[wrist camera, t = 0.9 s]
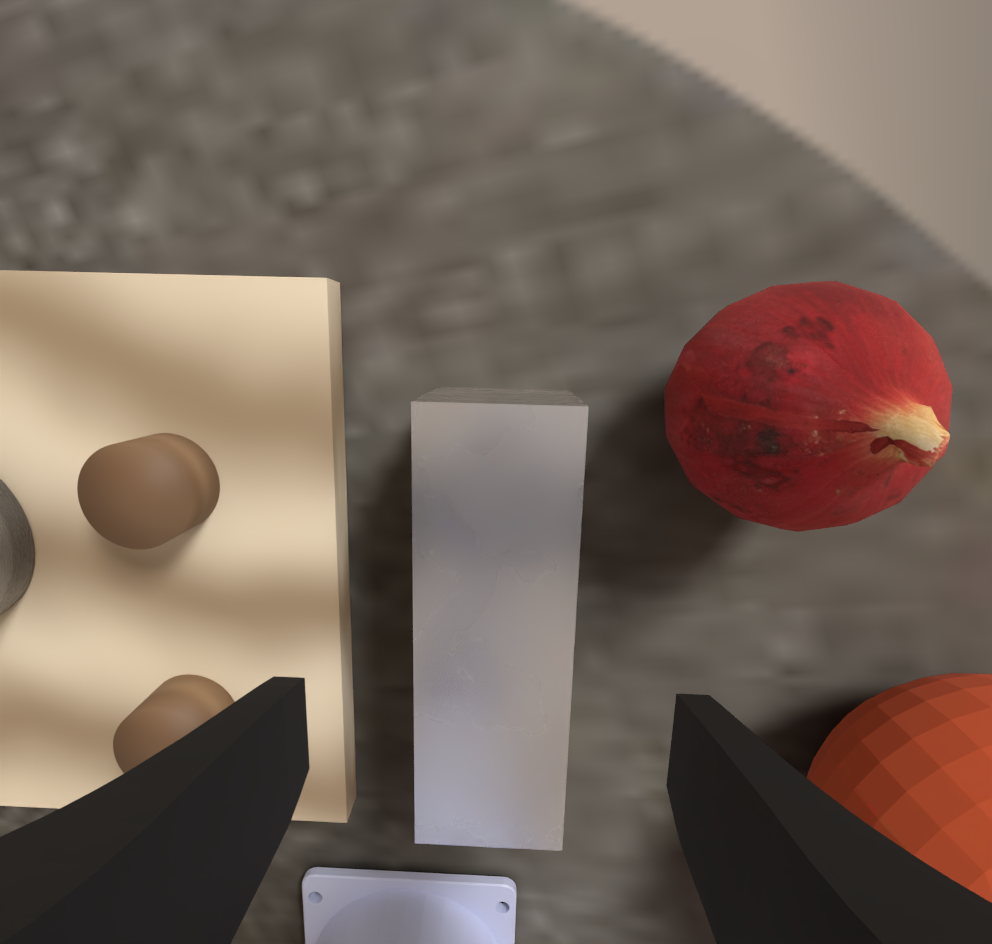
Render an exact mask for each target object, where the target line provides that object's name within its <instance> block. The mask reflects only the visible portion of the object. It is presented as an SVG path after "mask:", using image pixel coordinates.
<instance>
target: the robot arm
mask: <svg viewBox="0 0 992 944" xmlns="http://www.w3.org/2000/svg"><path fill="white" fill-rule="evenodd" d="M309 769H310V767H309V749H308V730H307V712H306V693H305V678H300V677H277V676H274V677H272V678H270V679H269V680H267V681H265V682H264V683H262V684H261V685H259V686H258V687H256V688H255V689H253V690H252V691H250V692H249V693H247V694H246V695H244V696H243V697H241V698H240V699H238V700H237V701H235V702H234V703H233V704H231V705H230V706H228V707H227V708H225V709H224V710H222V711H221V712H219V713H218V714H216V715H215V716H213V717H212V718H210V719H209V720H207V721H206V722H205V723H203V724H202V725H200V726H199V727H197V728H196V729H194V730H193V731H191V732H190V733H188V734H187V735H185V736H184V737H182V738H181V739H179V740H177V741H176V742H174V743H173V744H171V745H169V746H168V747H166V748H165V749H163V750H161V751H160V752H158V753H156V754H155V755H153V756H152V757H150V758H148V759H147V760H145V761H144V762H142V763H140V764H139V765H137V766H136V767H134V768H132V769H131V770H129V771H128V772H126V773H124V774H122V775H121V776H119V777H117V778H116V779H114V780H112V781H110V782H108V783H107V784H105V785H103V786H101V787H100V788H98V789H96V790H94V791H92V792H90V793H89V794H87V795H85V796H83V797H81V798H79V799H77V800H75V801H73V802H72V803H70V804H68V805H66V806H64V807H62V808H60V809H58V810H56V811H54V812H52V813H50V814H48V815H46V816H44V817H42V818H40V819H38V820H36V821H34V822H32V823H29V824H27V825H25V826H23V827H21V828H19V829H17V830H14V831H12V832H10V833H8V834H6V835H4V836H1V837H0V944H230V943H231V941H232V939H233V937H234V935H235V933H236V931H237V929H238V927H239V925H240V923H241V921H242V919H243V917H244V915H245V913H246V911H247V909H248V907H249V905H250V903H251V901H252V899H253V897H254V895H255V893H256V891H257V889H258V887H259V885H260V883H261V881H262V879H263V877H264V875H265V873H266V871H267V869H268V867H269V865H270V863H271V861H272V859H273V857H274V855H275V853H276V851H277V849H278V847H279V845H280V843H281V841H282V838H283V836H284V834H285V832H286V830H287V828H288V826H289V824H290V822H291V819H292V816H293V814H294V811H295V808H296V806H297V803H298V800H299V798H300V795H301V792H302V789H303V786H304V783H305V780H306V777H307V774H308V771H309ZM667 789H668V794H669V798H670V802H671V807H672V811H673V816H674V820H675V824H676V828H677V831H678V835H679V839H680V843H681V846H682V849H683V851H684V854H685V857H686V860H687V863H688V866H689V868H690V871H691V874H692V877H693V879H694V882H695V885H696V888H697V891H698V893H699V896H700V899H701V901H702V904H703V907H704V910H705V912H706V915H707V918H708V921H709V923H710V926H711V929H712V931H713V934H714V937H715V940H716V942H717V944H992V903H991V902H989V901H988V900H986V899H984V898H983V897H981V896H979V895H978V894H976V893H974V892H972V891H971V890H969V889H967V888H966V887H964V886H962V885H961V884H959V883H957V882H955V881H954V880H952V879H950V878H949V877H947V876H946V875H944V874H942V873H941V872H939V871H938V870H936V869H934V868H933V867H931V866H930V865H928V864H926V863H925V862H923V861H922V860H920V859H918V858H917V857H916V856H914V855H913V854H911V853H910V852H908V851H907V850H905V849H904V848H902V847H901V846H899V845H898V844H896V843H895V842H893V841H892V840H890V839H889V838H887V837H886V836H884V835H883V834H881V833H880V832H878V831H877V830H875V829H874V828H872V827H871V826H870V825H868V824H867V823H865V822H864V821H863V820H861V819H860V818H858V817H857V816H856V815H854V814H853V813H852V812H850V811H849V810H848V809H846V808H845V807H844V806H842V805H841V804H840V803H838V802H837V801H836V800H834V799H833V798H832V797H830V796H829V795H828V794H827V793H825V792H824V791H823V790H821V789H820V788H819V787H817V786H816V785H815V784H814V783H812V782H811V781H810V780H809V779H807V778H806V777H805V776H804V775H802V774H801V773H800V772H799V771H797V770H796V769H795V768H794V767H793V766H791V765H790V764H789V763H788V762H787V761H785V760H784V759H783V758H782V757H781V756H779V755H778V754H777V753H776V752H775V751H773V750H772V749H771V748H770V747H769V746H768V745H767V744H765V743H764V742H763V741H762V740H761V739H760V738H758V737H757V736H756V735H755V734H754V733H753V732H751V731H750V730H749V729H748V728H747V727H746V726H745V725H743V724H742V723H741V722H740V721H739V720H738V719H737V718H735V717H734V716H733V715H732V714H731V713H730V712H729V711H727V710H726V709H725V708H724V707H723V706H722V705H720V704H719V703H718V702H717V701H716V700H714V699H713V698H712V697H711V696H709V695H694V694H676V704H675V713H674V722H673V731H672V740H671V750H670V759H669V768H668V777H667ZM316 892H318V893H316ZM302 897H303V914H304V930H305V944H514V941H515V918H516V884H515V883H514V881H513V880H511V879H509V878H507V877H500V876H481V875H461V874H442V873H423V872H404V871H384V870H365V869H346V868H327V867H314V868H311V869H309V870H308V871H307V872H306V873H305V876H304V878H303V881H302ZM500 902H506V903H500Z"/></svg>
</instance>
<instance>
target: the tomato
mask: <svg viewBox="0 0 992 944" xmlns="http://www.w3.org/2000/svg"><path fill="white" fill-rule="evenodd" d="M806 778H807V779H809V780H810V781H811V782H812V783H814V784H815V785H816V786H817V787H819V788H820V789H821V790H823V791H824V792H825V793H827V794H828V795H829V796H830V797H832V798H833V799H834V800H836V801H837V802H838V803H840V804H841V805H842V806H844V807H845V808H846V809H848V810H849V811H850V812H852V813H853V814H854V815H856V816H857V817H858V818H860V819H861V820H863V821H864V822H865V823H867V824H868V825H870V826H871V827H872V828H874V829H875V830H877V831H878V832H880V833H881V834H883V835H884V836H886V837H887V838H889V839H890V840H892V841H893V842H895V843H896V844H898V845H899V846H901V847H902V848H904V849H905V850H907V851H908V852H910V853H911V854H913V855H914V856H916V857H917V858H918V859H920V860H922V861H923V862H925V863H926V864H928V865H930V866H931V867H933V868H934V869H936V870H938V871H939V872H941V873H942V874H944V875H946V876H947V877H949V878H950V879H952V880H954V881H955V882H957V883H959V884H961V885H962V886H964V887H966V888H967V889H969V890H971V891H972V892H974V893H976V894H978V895H979V896H981V897H983V898H984V899H986V900H988V901H989V902H991V903H992V674H965V673H951V674H944V675H937V676H931V677H924V678H920V679H917V680H914V681H911V682H908V683H905V684H902V685H899V686H895V687H893V688H890V689H888V690H885V691H883V692H882V693H880V694H878V695H876V696H874V697H872V698H870V699H868V700H866V701H865V702H863V703H862V704H860V705H859V706H858V707H856V708H855V709H854V710H852V711H851V712H850V713H848V714H847V715H846V716H845V717H844V718H843V719H842V720H841V722H840V723H839V724H838V725H837V726H836V727H835V728H834V729H833V730H832V731H831V733H830V734H829V736H828V737H827V738H826V740H825V741H824V743H823V744H822V746H821V747H820V749H819V751H818V752H817V754H816V755H815V757H814V759H813V761H812V764H811V767H810V769H809V772H808V774H807V777H806Z"/></svg>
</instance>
